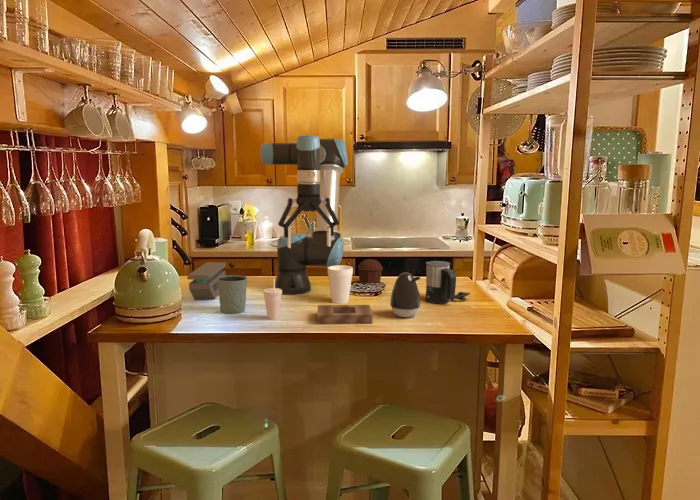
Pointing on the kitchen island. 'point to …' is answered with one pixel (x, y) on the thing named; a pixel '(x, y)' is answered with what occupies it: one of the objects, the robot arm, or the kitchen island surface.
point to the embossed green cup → (232, 293)
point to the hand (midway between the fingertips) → (309, 246)
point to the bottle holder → (344, 314)
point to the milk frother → (441, 283)
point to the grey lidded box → (206, 280)
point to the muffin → (370, 271)
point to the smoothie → (272, 301)
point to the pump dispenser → (405, 296)
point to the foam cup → (340, 283)
